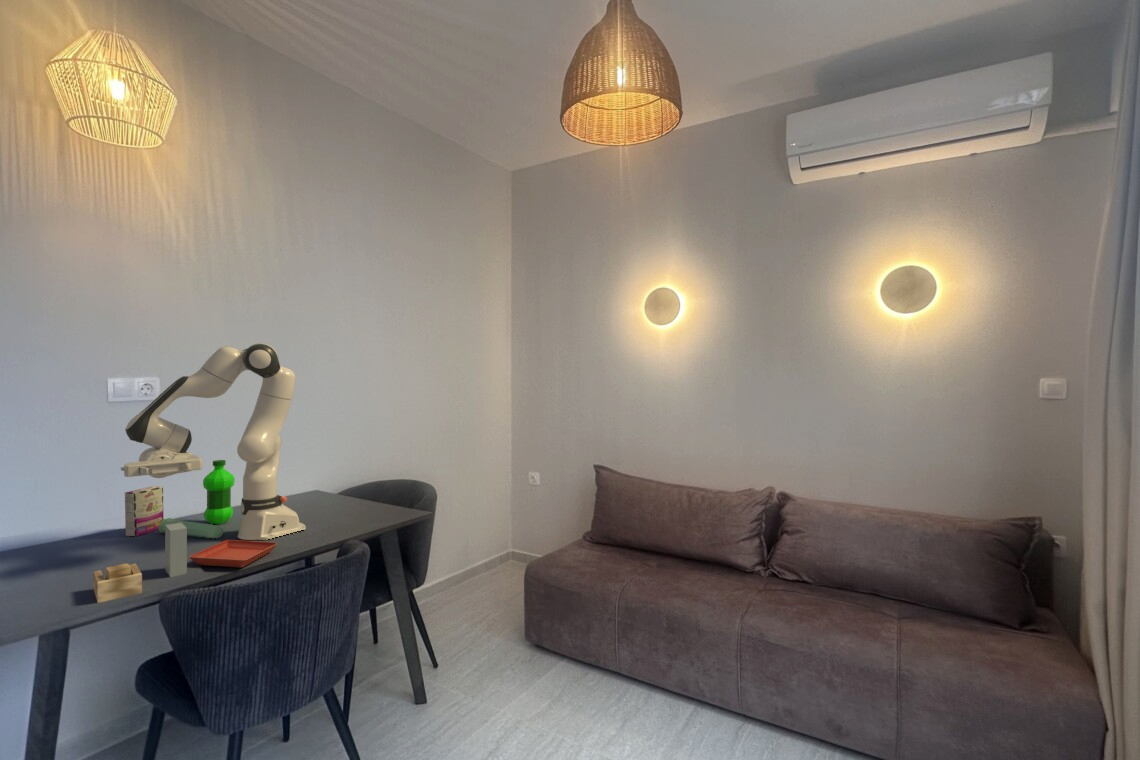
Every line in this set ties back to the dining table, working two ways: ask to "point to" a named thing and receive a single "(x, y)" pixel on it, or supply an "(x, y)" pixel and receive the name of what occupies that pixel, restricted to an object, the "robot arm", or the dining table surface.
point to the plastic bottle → (218, 494)
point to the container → (195, 528)
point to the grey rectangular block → (175, 549)
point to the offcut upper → (118, 571)
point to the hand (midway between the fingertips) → (168, 469)
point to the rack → (117, 585)
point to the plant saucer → (233, 553)
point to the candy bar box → (143, 510)
